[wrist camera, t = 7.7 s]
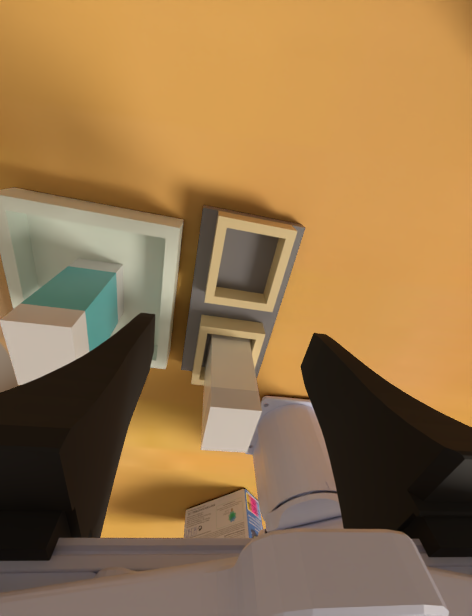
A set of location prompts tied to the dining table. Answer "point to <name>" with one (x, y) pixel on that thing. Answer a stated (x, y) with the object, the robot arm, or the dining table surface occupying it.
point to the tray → (93, 252)
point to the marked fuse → (64, 318)
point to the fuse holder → (237, 282)
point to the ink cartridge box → (225, 517)
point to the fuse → (229, 395)
